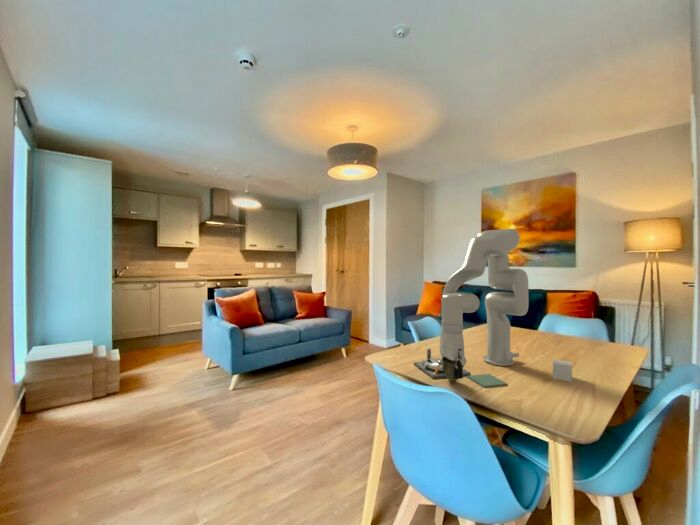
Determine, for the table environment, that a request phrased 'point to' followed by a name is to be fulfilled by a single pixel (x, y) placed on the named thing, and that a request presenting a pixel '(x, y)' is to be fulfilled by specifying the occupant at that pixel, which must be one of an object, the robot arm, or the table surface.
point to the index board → (435, 374)
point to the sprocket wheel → (433, 363)
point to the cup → (449, 368)
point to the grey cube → (562, 370)
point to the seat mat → (486, 380)
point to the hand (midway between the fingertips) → (452, 374)
